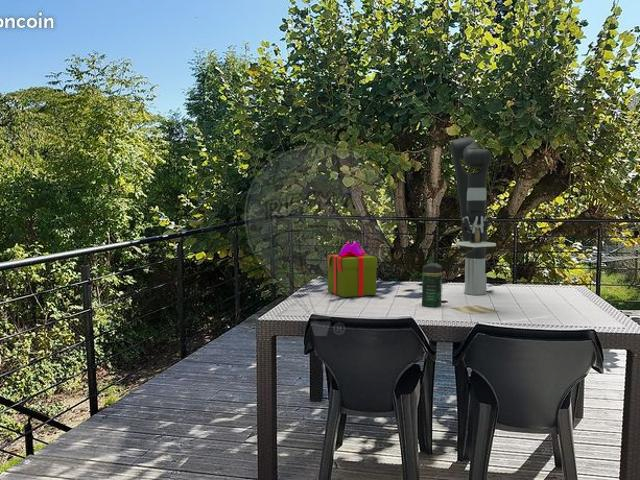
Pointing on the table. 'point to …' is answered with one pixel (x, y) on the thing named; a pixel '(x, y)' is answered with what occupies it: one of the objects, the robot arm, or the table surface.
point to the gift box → (352, 272)
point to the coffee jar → (432, 285)
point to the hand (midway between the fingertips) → (475, 242)
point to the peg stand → (476, 242)
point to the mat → (474, 309)
